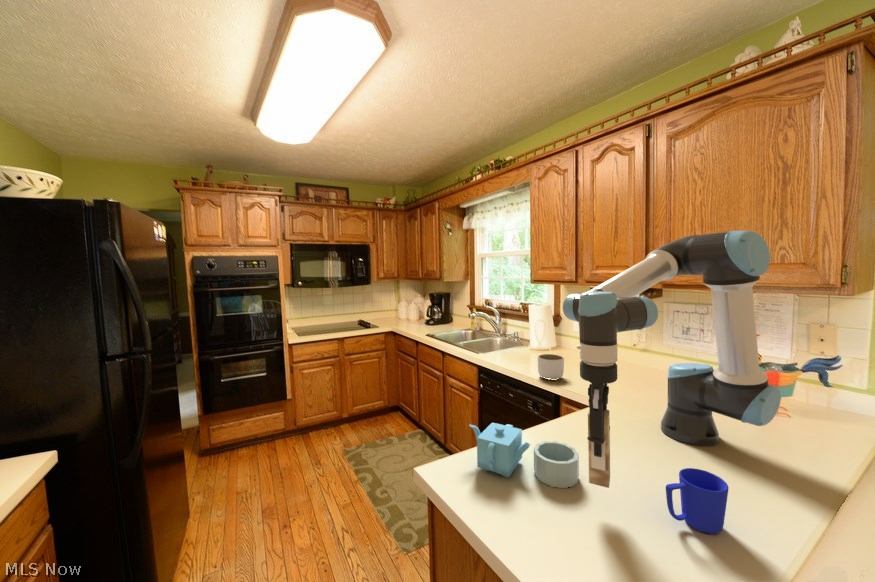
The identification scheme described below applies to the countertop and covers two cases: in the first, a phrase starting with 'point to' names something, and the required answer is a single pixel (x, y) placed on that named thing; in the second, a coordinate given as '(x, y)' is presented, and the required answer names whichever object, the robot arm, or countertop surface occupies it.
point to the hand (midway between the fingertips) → (599, 462)
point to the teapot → (499, 448)
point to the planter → (551, 366)
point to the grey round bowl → (556, 464)
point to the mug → (700, 499)
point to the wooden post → (599, 475)
